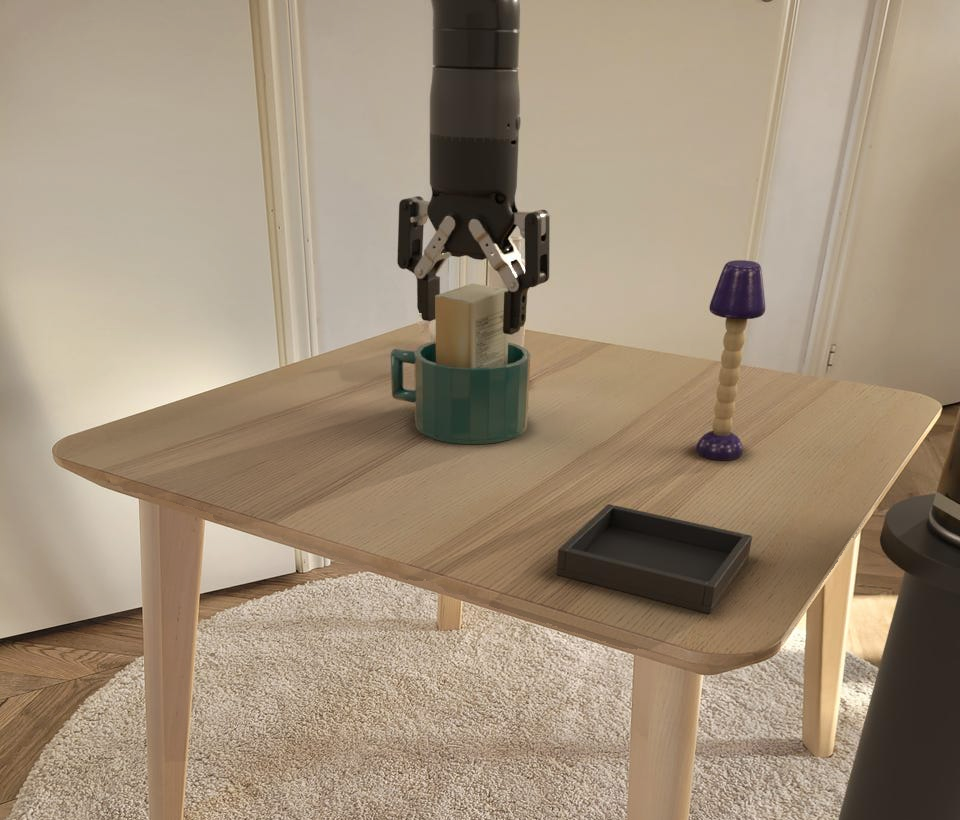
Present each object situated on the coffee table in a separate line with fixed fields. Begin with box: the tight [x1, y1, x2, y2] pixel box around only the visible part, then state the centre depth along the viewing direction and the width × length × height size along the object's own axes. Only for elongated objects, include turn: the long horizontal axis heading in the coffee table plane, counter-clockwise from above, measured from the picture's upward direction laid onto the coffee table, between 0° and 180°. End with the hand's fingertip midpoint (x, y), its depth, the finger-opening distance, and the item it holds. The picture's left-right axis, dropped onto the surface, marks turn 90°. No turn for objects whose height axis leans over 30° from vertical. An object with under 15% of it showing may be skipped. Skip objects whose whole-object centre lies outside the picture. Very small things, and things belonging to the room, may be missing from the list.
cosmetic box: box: [435, 283, 508, 368], centre depth 94 cm, size 6×4×12 cm
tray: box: [556, 503, 753, 614], centre depth 71 cm, size 11×9×2 cm
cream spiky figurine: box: [416, 313, 436, 343], centre depth 117 cm, size 12×5×5 cm, turn 6°
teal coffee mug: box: [390, 340, 531, 445], centre depth 96 cm, size 14×11×7 cm
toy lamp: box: [695, 259, 766, 461], centre depth 88 cm, size 5×5×17 cm
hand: (470, 325), depth 92 cm, fingers open, 8 cm apart
